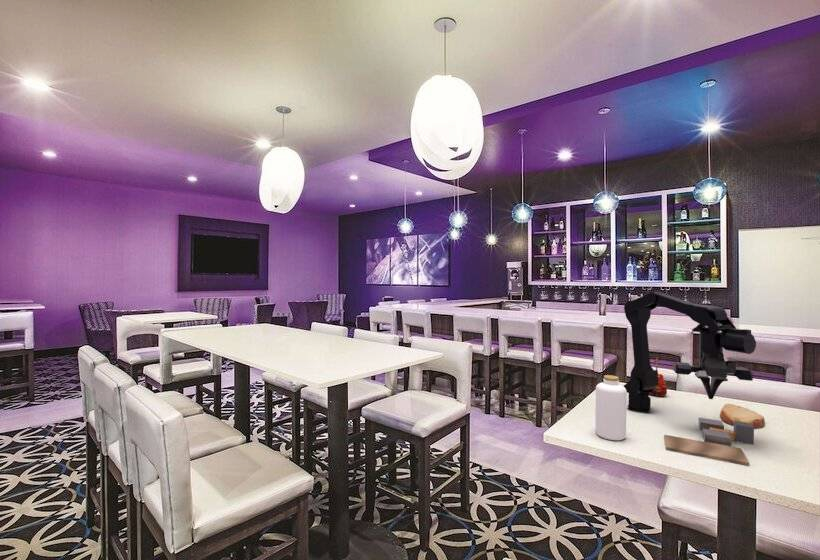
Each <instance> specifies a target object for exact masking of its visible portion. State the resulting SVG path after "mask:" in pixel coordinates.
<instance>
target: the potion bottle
mask: <svg viewBox="0 0 820 560" xmlns="http://www.w3.org/2000/svg"><path fill="white" fill-rule="evenodd" d="M619 378H620V377H619V376H616V375H611V374H606V375H603V379H602V380H603V382H599V383H598V384H596V386H595V422H594V423H595V433H596V435H598V436H599V437H601V438H603V439H606V440H609V441H622V440H624V439H625V438H626V436H627V408H628V406H627V403H628V401H627V399H628V397H627V395H628V393H627V391H626V389H625V387H624V385H622V384H620V380H619Z"/></svg>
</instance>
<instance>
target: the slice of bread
mask: <svg viewBox="0 0 820 560" xmlns="http://www.w3.org/2000/svg"><path fill="white" fill-rule="evenodd" d="M719 417H720V418H721V419H722V420H723V421H724V422H725V423H727V424H728V425H730V426H733V427H734V421H741V422H747V423H751V424H752V425H753V427H754V429H761V428H763V427H765V425H766V422H765V416H763V415H762V414H759V413H758V412H756V411H755V410H752V409H749V408H747V407H744V406H740V405H737V404H732V403H725V404H724V405H723V407H722V408H721V411H720V414H719Z"/></svg>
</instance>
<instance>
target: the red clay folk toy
mask: <svg viewBox="0 0 820 560" xmlns="http://www.w3.org/2000/svg"><path fill="white" fill-rule="evenodd" d="M655 358H656V359H655V360H653V359H650V363H655V370H657V371H658V369H659V368H658V361H659V359H658V357H655ZM663 375H664V374H661V373H658V379H659V382H658V385H657V386H656V387H655V388H654V390H653V393H649V396H655V397H657V398H664V397H665V396H666V395H667V394H668V389H667V388H668V387H667V381H666V380H665V377H664V376H663Z"/></svg>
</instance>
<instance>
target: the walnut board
mask: <svg viewBox="0 0 820 560" xmlns="http://www.w3.org/2000/svg"><path fill="white" fill-rule="evenodd" d="M663 438H664V446H665V450H666V451H669V452H675V453H681V454H685V455H691V456H696V457H701V458H705V457H706V458H707V459H710V458H711V460H715V461H716V460H717V461H722V462H726V463H732V464H737V465H742V466H748V467H750V461H749V459H748V457H747V456H746V454H745V452H744V451H743V449H742V448H741V447H736V446H732V445H731V446H725V445H720V444H714V443H709V442H704V440H697V439H691V438H686V437H685V438H684V437H681V436H673V435H669V434H663Z"/></svg>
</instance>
